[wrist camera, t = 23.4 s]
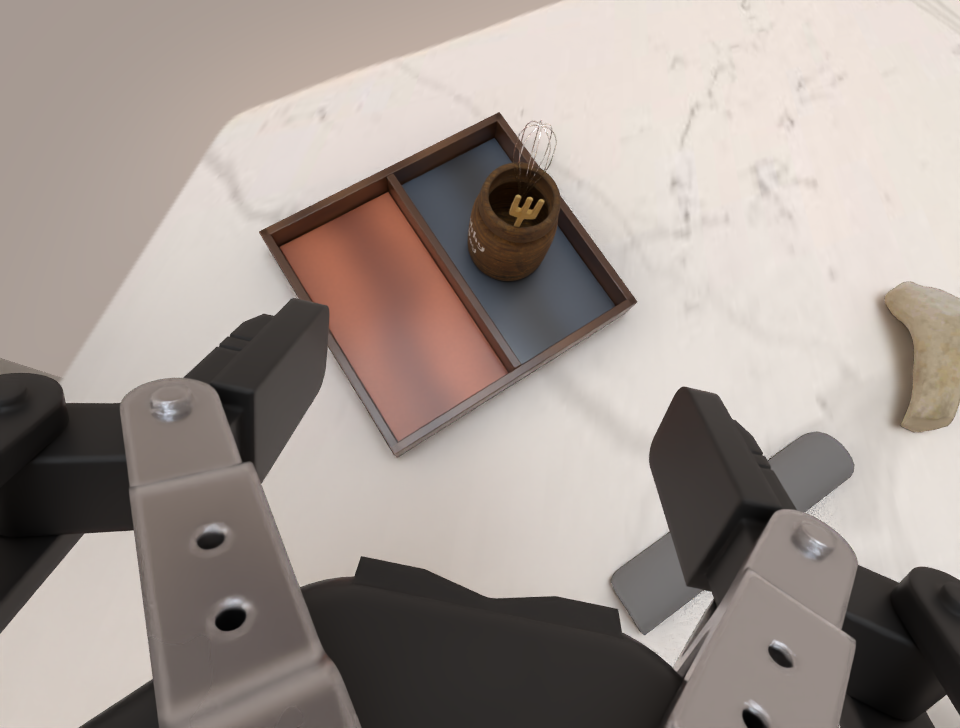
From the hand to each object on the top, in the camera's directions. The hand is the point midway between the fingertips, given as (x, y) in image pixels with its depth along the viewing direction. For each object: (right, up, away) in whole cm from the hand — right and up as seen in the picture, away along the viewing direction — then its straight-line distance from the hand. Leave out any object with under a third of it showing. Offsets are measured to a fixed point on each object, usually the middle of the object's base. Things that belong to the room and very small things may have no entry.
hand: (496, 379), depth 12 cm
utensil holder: (+1, +9, +28) cm, 29 cm away
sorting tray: (-3, +6, +27) cm, 28 cm away
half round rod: (+17, -11, +25) cm, 32 cm away
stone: (+33, 0, +29) cm, 44 cm away
